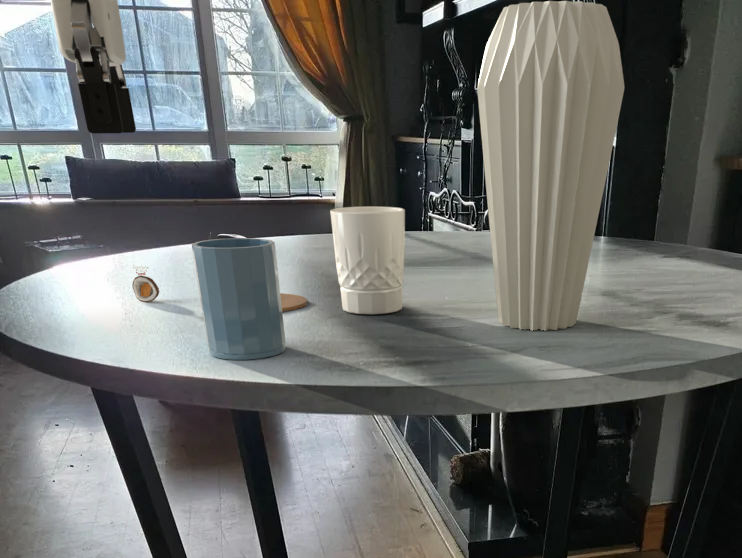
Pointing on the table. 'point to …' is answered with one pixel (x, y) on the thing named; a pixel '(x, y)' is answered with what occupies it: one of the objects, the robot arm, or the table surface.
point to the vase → (547, 152)
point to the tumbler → (240, 297)
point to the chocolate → (145, 287)
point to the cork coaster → (292, 302)
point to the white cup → (369, 257)
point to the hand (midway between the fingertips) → (113, 132)
